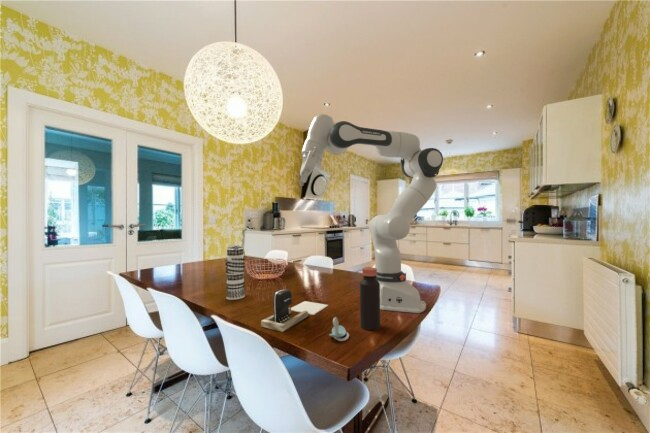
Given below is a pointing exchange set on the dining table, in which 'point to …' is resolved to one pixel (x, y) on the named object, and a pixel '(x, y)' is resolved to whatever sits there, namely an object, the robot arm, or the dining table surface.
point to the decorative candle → (235, 272)
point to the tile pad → (309, 307)
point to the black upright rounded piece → (282, 305)
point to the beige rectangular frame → (287, 324)
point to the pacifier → (338, 331)
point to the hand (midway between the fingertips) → (302, 183)
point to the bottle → (369, 300)
